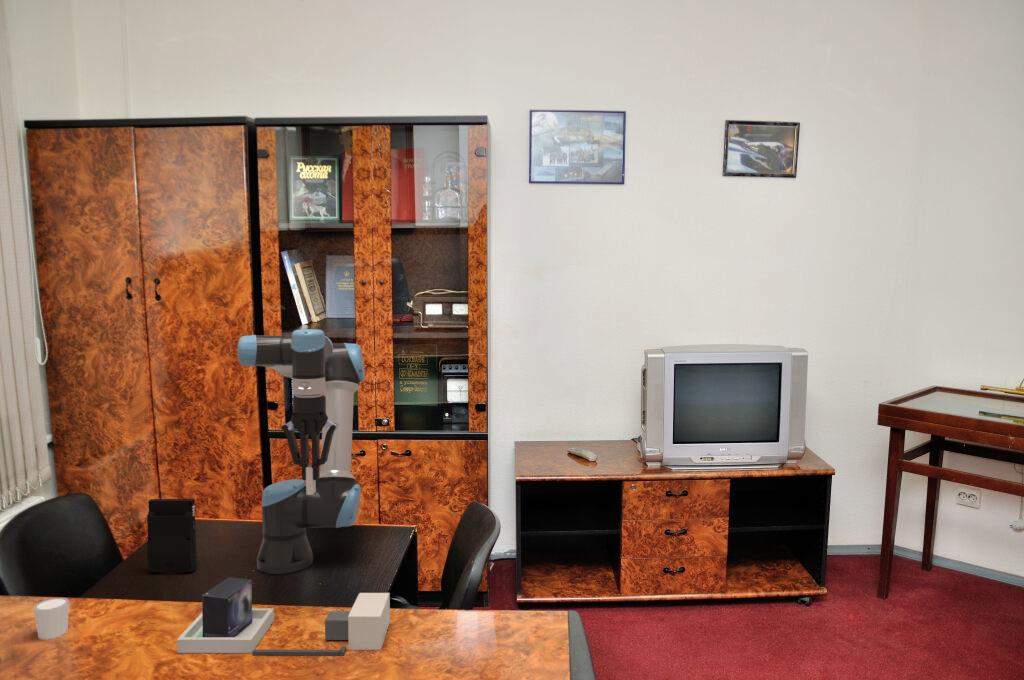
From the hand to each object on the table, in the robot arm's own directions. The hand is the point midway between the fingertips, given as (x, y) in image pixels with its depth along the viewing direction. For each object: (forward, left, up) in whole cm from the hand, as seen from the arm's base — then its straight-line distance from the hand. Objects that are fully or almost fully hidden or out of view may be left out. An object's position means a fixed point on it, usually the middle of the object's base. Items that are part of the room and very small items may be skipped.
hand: (311, 493), depth 174 cm
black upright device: (-24, -45, -30) cm, 59 cm away
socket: (+12, +15, -29) cm, 35 cm away
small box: (+12, -16, -29) cm, 35 cm away
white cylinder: (+11, -56, -30) cm, 64 cm away
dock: (+12, -16, -29) cm, 36 cm away
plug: (+12, +10, -29) cm, 33 cm away
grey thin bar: (+20, +2, -29) cm, 36 cm away
